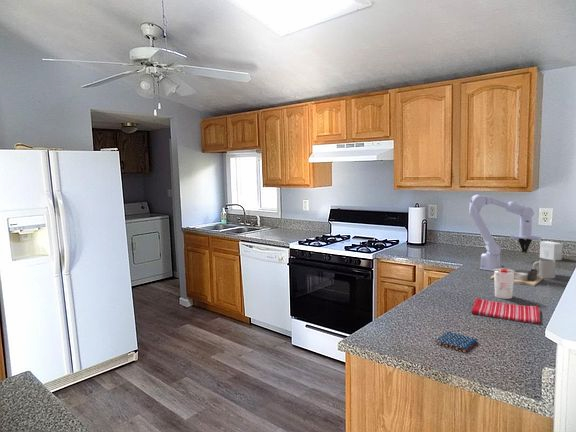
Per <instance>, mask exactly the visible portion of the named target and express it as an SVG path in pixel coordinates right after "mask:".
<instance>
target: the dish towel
mask: <svg viewBox="0 0 576 432" xmlns="http://www.w3.org/2000/svg"><path fill="white" fill-rule="evenodd" d="M471 314H472V315H475V316H476V315H478V316H484V317H489V318H494V319H495V318H496V319H501V320H508V321H514V322H522V323H527V324H528V323H529V324H538V325H540V324H541V310H540V308H539V305H538V306H537V305H520V304H513V303H508V302H506V303H505V302H500V301H499V302H498V301H491V300H486V299H482V298H475V300H474V304H473V305H472V308H471Z"/></svg>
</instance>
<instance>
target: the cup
mask: <svg viewBox="0 0 576 432" xmlns="http://www.w3.org/2000/svg"><path fill="white" fill-rule="evenodd" d="M556 262H557V260H551V259H544V258H540V259H539V261H535V262H534V263H533V264H532V269H536V270H537V266H538V270H537V275H538V276H539V277H543V279H546V280H547V279H548V280H549V279H550V280H551V279H555V277H556Z"/></svg>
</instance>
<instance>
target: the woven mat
mask: <svg viewBox="0 0 576 432" xmlns="http://www.w3.org/2000/svg"><path fill="white" fill-rule="evenodd" d="M478 340H479V339H478V338H474V337H470V336H468V335H467V336H466V335H463V334H461V333H456V332H453V331H446V333H444V334H443V335H440V336H439V337H438V338H436V339H435V340H434V342H435V345H439V346H442V347H444V346H445V347H446V348H449V349H452V350H455V351H459V352H461V351H462V352H463V353H466V352H468V351H469V350H470V349H472V348H473V346H475V345H476V344H478V343H479V342H478Z"/></svg>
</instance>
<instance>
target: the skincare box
mask: <svg viewBox="0 0 576 432" xmlns="http://www.w3.org/2000/svg"><path fill="white" fill-rule="evenodd" d="M539 242H540V243H539V258H540V259H551V260H555V261H562V259H563V258H562V257H563V256H562V255H563V243H561V242H554V241H549V240H545V241H543V240H541V241H539Z"/></svg>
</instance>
